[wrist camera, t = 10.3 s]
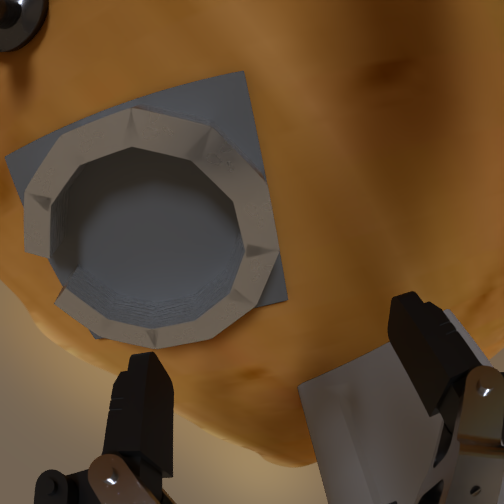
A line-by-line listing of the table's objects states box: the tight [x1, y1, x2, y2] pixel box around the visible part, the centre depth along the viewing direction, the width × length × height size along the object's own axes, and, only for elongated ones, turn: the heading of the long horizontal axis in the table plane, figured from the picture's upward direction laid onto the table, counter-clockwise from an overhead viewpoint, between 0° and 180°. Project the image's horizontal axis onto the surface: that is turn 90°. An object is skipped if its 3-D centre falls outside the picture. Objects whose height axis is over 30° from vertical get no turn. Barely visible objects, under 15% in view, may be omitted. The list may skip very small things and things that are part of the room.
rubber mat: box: [5, 71, 288, 339], centre depth 21 cm, size 17×17×1 cm
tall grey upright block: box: [298, 309, 504, 504], centre depth 23 cm, size 19×15×28 cm
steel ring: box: [24, 103, 280, 349], centre depth 20 cm, size 16×16×3 cm
